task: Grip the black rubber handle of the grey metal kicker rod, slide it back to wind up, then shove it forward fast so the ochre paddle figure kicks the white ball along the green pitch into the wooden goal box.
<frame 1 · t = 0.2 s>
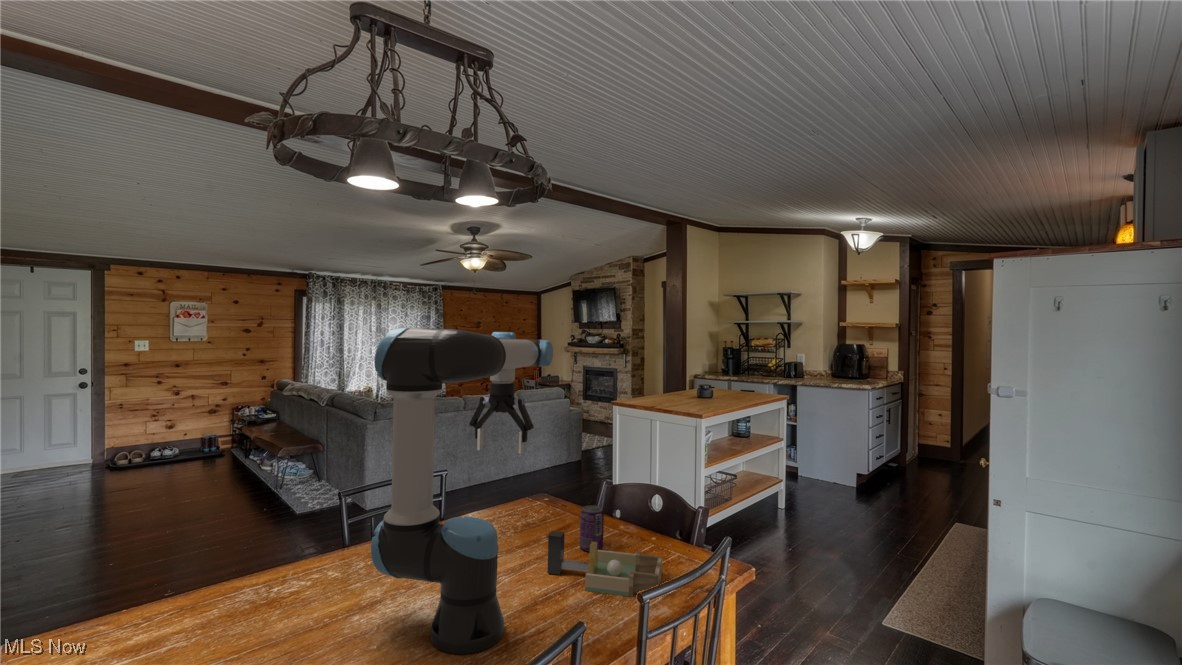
hand: (500, 451, 163), 28 cm above the table, fingers open, 13 cm apart
beverage can: (591, 549, 159), on the table
pitch: (612, 579, 140), on the table
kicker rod: (572, 554, 142), point 5 cm above the table, slide at 0.0 cm
goal: (646, 583, 138), on the table
ball: (614, 567, 140), point 3 cm above the table, touching pitch
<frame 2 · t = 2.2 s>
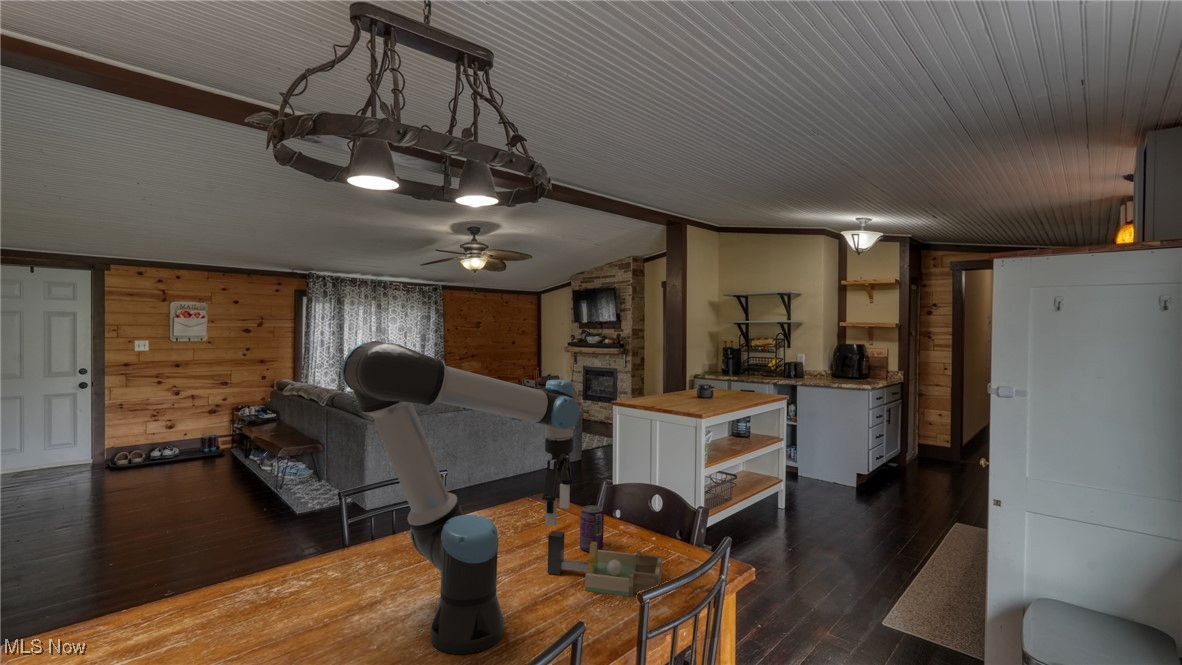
hand: (558, 516, 143), 15 cm above the table, fingers open, 13 cm apart
nothing on the table moved.
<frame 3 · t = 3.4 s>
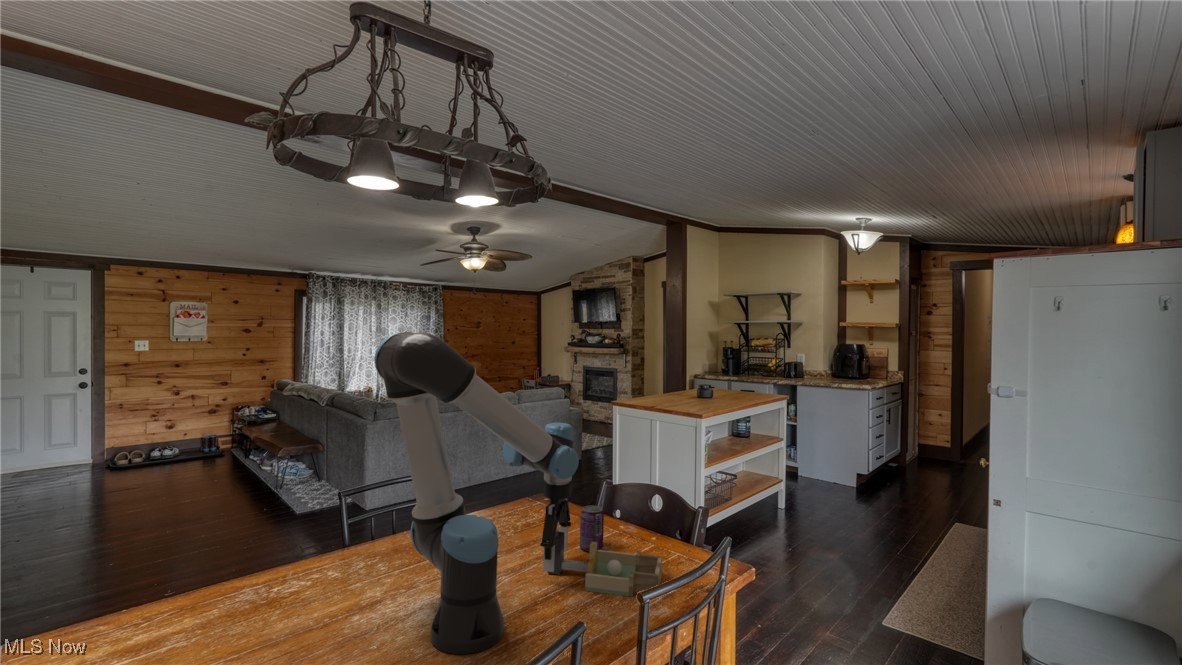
hand: (555, 560, 143), 3 cm above the table, fingers open, 13 cm apart
nothing on the table moved.
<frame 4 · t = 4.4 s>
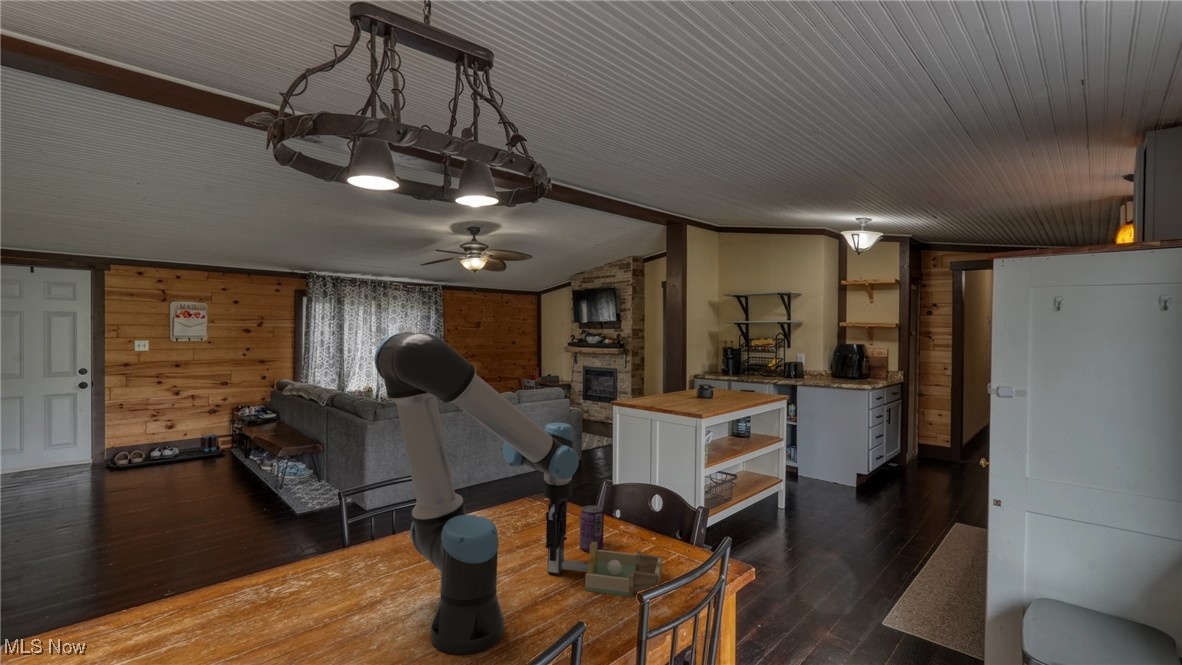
hand: (555, 568, 143), 1 cm above the table, fingers closed on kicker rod, 3 cm apart
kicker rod: (572, 554, 142), point 5 cm above the table, slide at 0.0 cm, touching gripper
everything else where it was.
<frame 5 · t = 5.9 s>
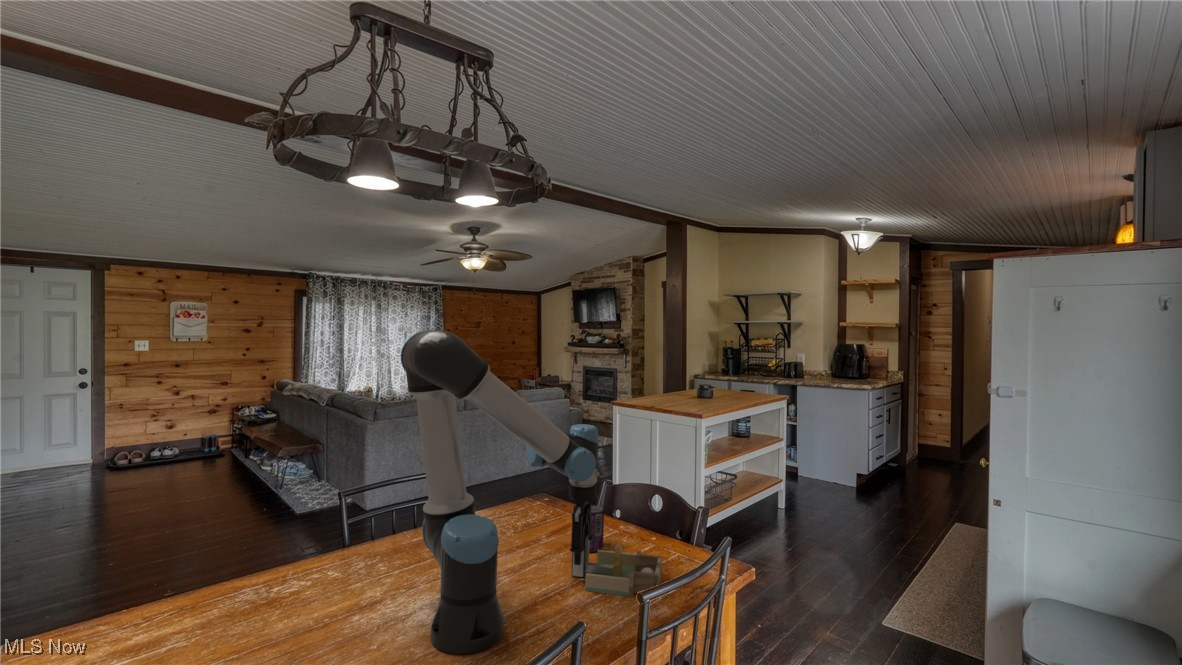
hand: (580, 569, 142), 1 cm above the table, fingers open, 6 cm apart
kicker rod: (596, 557, 141), point 5 cm above the table, slide at 6.6 cm
ball: (647, 575, 138), point 2 cm above the table, tilted 146°
everything else where it was.
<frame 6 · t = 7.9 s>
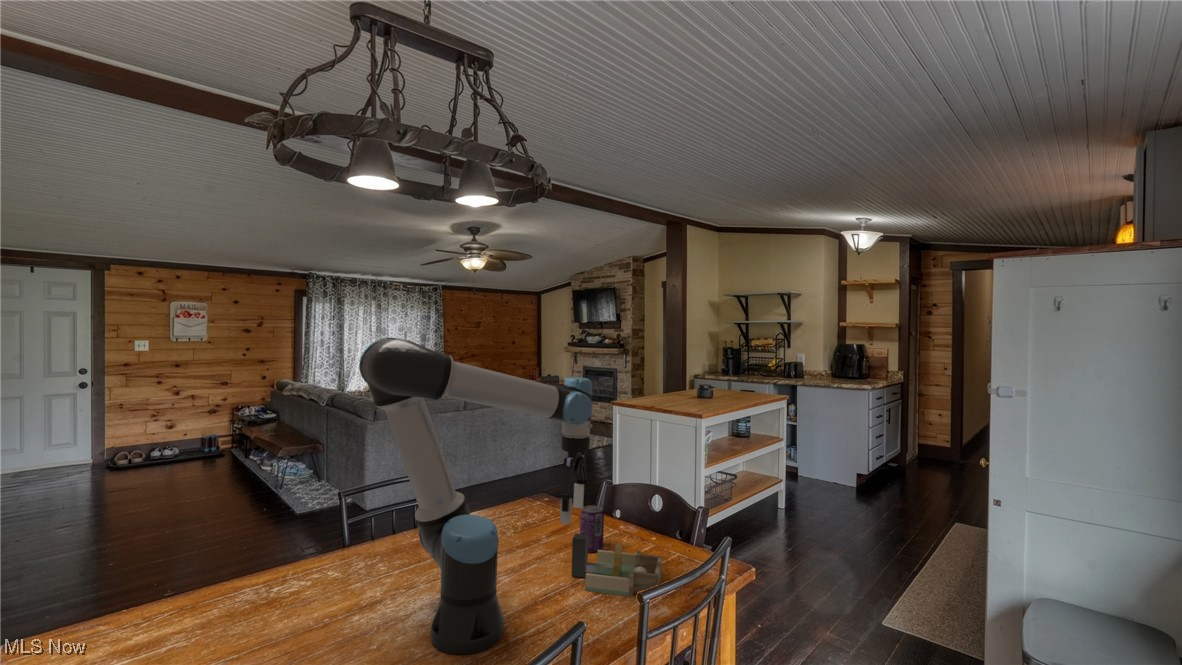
hand: (572, 515, 142), 16 cm above the table, fingers open, 13 cm apart
ball: (639, 574, 138), point 2 cm above the table, tilted 157°
everything else where it was.
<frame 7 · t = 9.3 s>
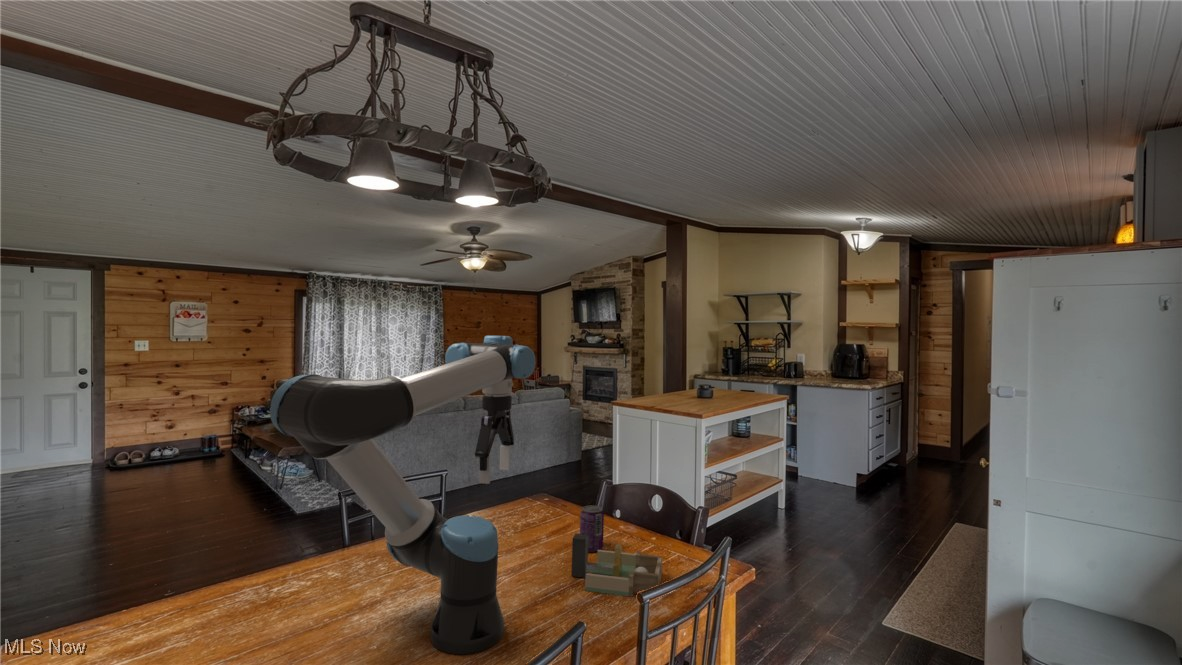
hand: (494, 476, 139), 27 cm above the table, fingers open, 13 cm apart
ball: (641, 575, 138), point 2 cm above the table, tilted 166°
everything else where it was.
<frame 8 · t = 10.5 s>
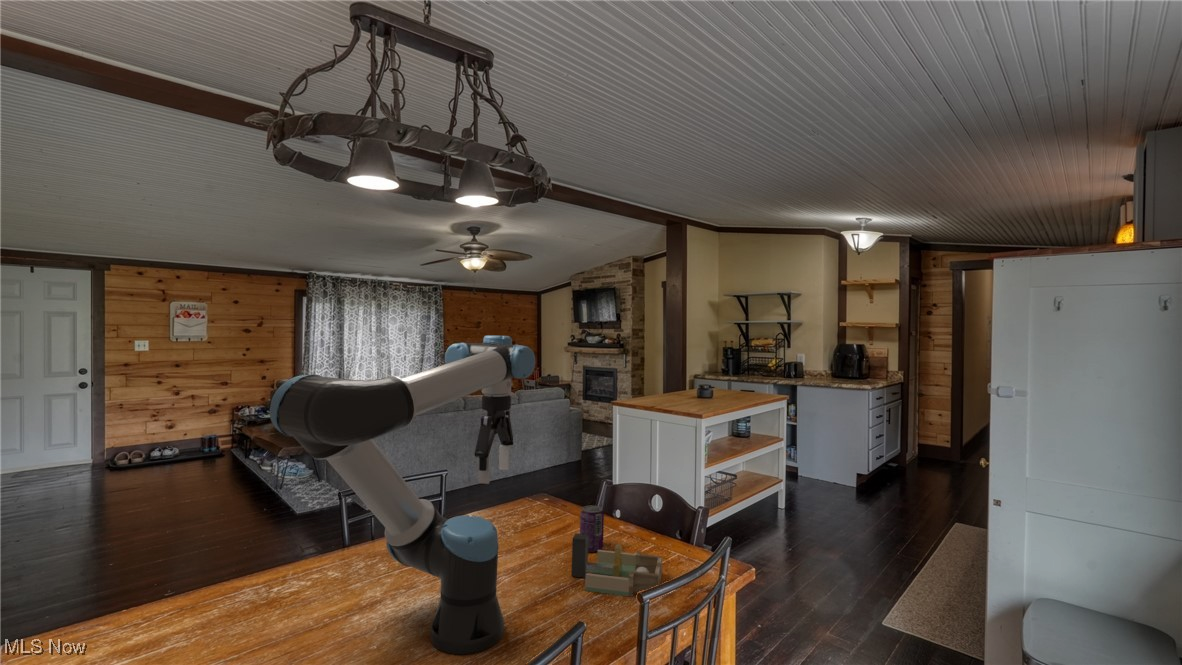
hand: (494, 476, 139), 27 cm above the table, fingers open, 13 cm apart
ball: (642, 575, 138), point 2 cm above the table, tilted 174°
everything else where it was.
at the end: ball inside the target area (0.9 cm from its centre), point 2.0 cm above the table; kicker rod slide at 6.6 cm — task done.
